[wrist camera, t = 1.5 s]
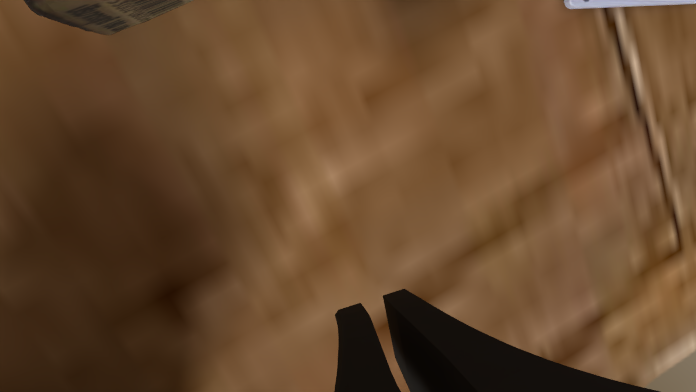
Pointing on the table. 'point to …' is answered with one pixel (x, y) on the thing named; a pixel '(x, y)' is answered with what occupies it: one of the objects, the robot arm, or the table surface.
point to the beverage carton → (102, 12)
